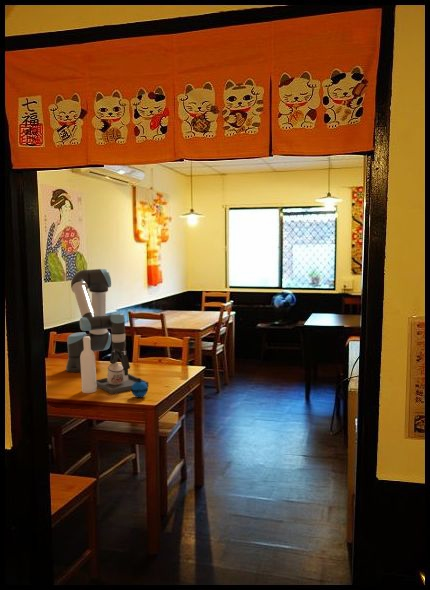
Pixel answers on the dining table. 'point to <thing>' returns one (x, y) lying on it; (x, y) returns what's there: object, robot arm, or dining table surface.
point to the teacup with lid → (115, 374)
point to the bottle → (88, 367)
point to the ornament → (139, 388)
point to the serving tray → (118, 388)
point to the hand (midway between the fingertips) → (120, 378)
